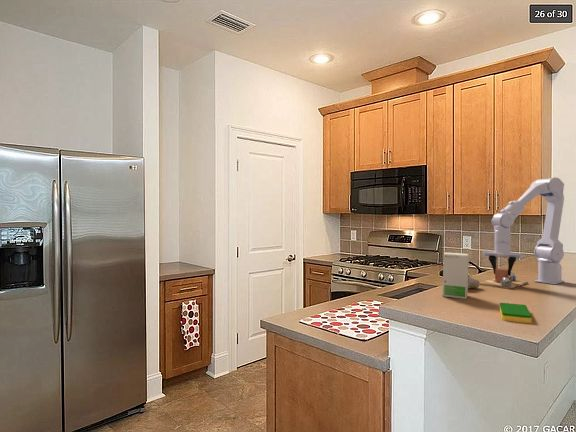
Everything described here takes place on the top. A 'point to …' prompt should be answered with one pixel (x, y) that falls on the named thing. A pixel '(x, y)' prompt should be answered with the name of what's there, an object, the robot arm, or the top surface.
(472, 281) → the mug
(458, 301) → the top surface
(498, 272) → the reddish brown block
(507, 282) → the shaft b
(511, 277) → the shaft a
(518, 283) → the base board
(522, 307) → the dish sponge
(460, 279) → the skincare box
